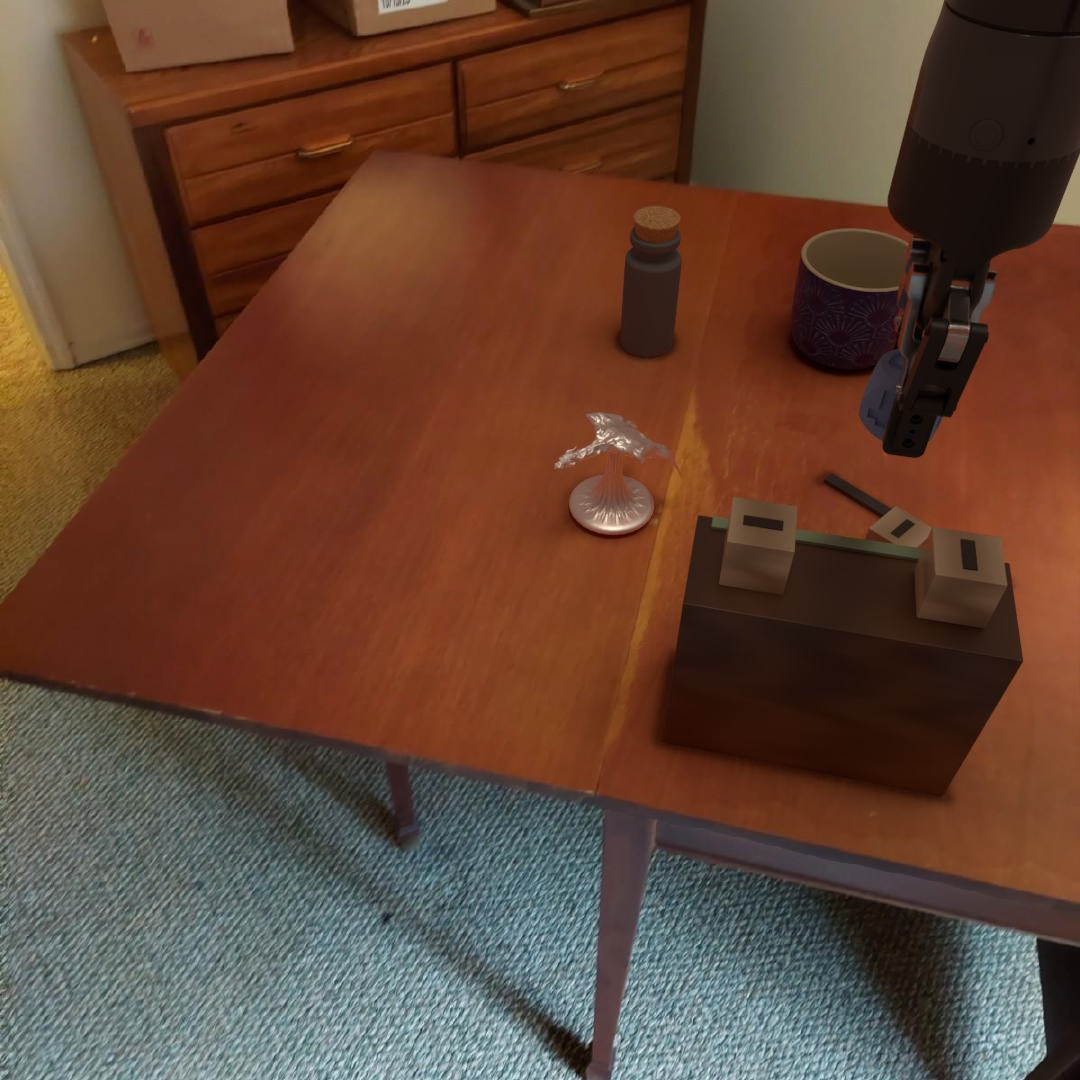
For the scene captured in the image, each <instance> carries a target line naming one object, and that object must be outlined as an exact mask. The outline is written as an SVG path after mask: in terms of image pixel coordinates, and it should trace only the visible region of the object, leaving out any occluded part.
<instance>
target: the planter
mask: <svg viewBox="0 0 1080 1080" xmlns="http://www.w3.org/2000/svg"><path fill="white" fill-rule="evenodd" d="M908 245H909V242H907V241H905V240H904V239H901V237H900V238H899V237H898V236H896V235H895V236H894V235H893V234H890V233H886V232H884V231H883V232H882V231H879V230H873V229H866V228H857V227H856V228H855V227H852V228H850V227H847V228H845V227H844V228H835V229H830V230H826V231H823V232H820V233H818V234H815V235H814V236H811V237H810V238H809V239H808V240H807V241H806V242H805V243H804V244H803V246H802V248H801V251H800V257H799V262H798V267H797V268H798V269H797V274H796V280H795V286H794V292H793V299H792V306H791V316H790V330H791V336H792V340H793V342H794V343H795V346H796V347H797V348H798V350H799V351H800V352H801V353H802V354H803V355H804V356H806V357H807V358H808V359H810V360H811V361H813V362H815V363H817V364H819V365H822V366H825V367H828V368H832V369H837V370H845V371H846V370H847V371H855V370H856V371H857V370H863V369H868V368H871V367H874V366H876V365H877V363H878V361H879V360H880V358H881V357H882V356H883V355H884V354H885V353H887V352H890V351H891V350H892V347H893V343H894V340H895V337H896V333H898V334H900V332H896V331H895V325H894V320H895V316H898V312H899V310H900V308H898V306H897V299H896V297H897V292H898V288H899V284H900V281H901V278H902V276H903V273H904V269H905V259H906V250H907V248H908Z"/></svg>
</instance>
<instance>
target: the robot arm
mask: <svg viewBox="0 0 1080 1080" xmlns="http://www.w3.org/2000/svg"><path fill="white" fill-rule="evenodd" d="M920 65H921V66H920V68H919V72H918V76H917V80H916V83H915V84H916V85H915V88H914V92H913V96H912V100H911V104H910V108H909V112H908V116H907V120H906V123H905V127H904V131H903V135H902V139H901V143H900V147H899V150H898V153H897V158H896V163H895V166H894V169H893V170H894V171H893V174H892V179H891V182H890V186H889V190H888V195H887V202H886V203H887V209H888V212H889V214H890V216H891V217H892V220H893V221H895V222H896V224H897V225H898V226H899V227H900V228H902V229H903V231H906V232H907V233H909V234H910V235H912V237H911V238H910V239H909V242H908V243H909V245H908V248H907V250H906V259H905V269H904V273H903V276H902V278H901V281H900V284H899V288H898V292H897V297H896V299H897V306H898V308H900V310H899V312H898V316H895V320H894V325H895V331H896V332H900V334H898V333H896V337H895V340H894V343H893V347H892V350H895V349H899V351H900V353H901V355H902V356H903V357H904V362H903V366H902V370H901V374H900V378H899V383H898V384H896V387H895V393H896V397H895V401H894V404H893V407H892V410H891V414H890V417H889V420H888V423H887V427H886V430H885V433H884V436H883V441H882V451H883V452H884V453H885V454H887V455H891V456H898V457H905V458H912V459H917V458H920V457H922V456H924V455H925V453H926V449H927V447H928V443H929V442H930V441H929V438H930V436H931V433H932V430H933V427H934V424H935V421H936V418H937V416H942V417H943V418H952V417H953V415H954V412H956V410H957V409H958V403H959V402H960V400H961V397H962V395H963V393H964V391H965V389H966V387H967V384H968V382H969V380H970V377H971V375H972V374H973V371H974V369H975V366H977V365H976V364H977V362H978V361H979V358H980V355H981V354H982V351H983V350H984V347H985V345H986V344H987V342H988V340H989V336H990V332H989V325H988V324H987V323H984V322H983V323H982V322H981V321H982V316H983V312H984V311H985V309H987V308H988V307H989V306H990V305H991V303H992V300H993V297H994V293H995V290H996V285H997V281H998V271H997V270H991V269H990V267H991V263H992V260H993V259H994V258H996V257H998V256H999V255H1002V254H1004V253H1007V252H1009V251H1014V250H1020V249H1024V248H1026V247H1029V246H1031V245H1033V244H1035V243H1036V242H1038V241H1040V240H1041V239H1042V238H1044V237H1045V236H1046V235H1047V233H1049V231H1050V230H1051V228H1052V227H1053V224H1054V221H1055V220H1056V216H1057V214H1058V211H1059V209H1060V206H1061V203H1062V201H1063V199H1064V196H1065V193H1066V191H1067V189H1068V186H1069V183H1070V180H1071V178H1072V175H1073V173H1074V170H1075V168H1076V165H1077V163H1078V160H1079V158H1080V0H943V3H942V5H941V9H940V13H939V15H938V18H937V20H936V23H935V26H934V28H933V31H932V33H931V35H930V38H929V40H928V43H927V46H926V49H925V51H924V55H923V57H922V62H921V64H920ZM892 350H891V351H892ZM928 441H929V442H928Z"/></svg>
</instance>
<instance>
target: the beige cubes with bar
mask: <svg viewBox="0 0 1080 1080" xmlns="http://www.w3.org/2000/svg"><path fill="white" fill-rule="evenodd" d="M823 483H824V484H826V485H827V486H829V487H831V488H832V489H834V490H835V491H837V492H839V493H840V494H842V495H844V496H845V497H847V498H849V499H850V500H852V501H853V502H855V503H857V504H858V505H860V506H861V507H863V508H864V509H866V510H868V511H869V512H871V513H873V514H875V515H876V516H878V517H880V518H879V519H878V520H877V521H875V522H874V523H873V524H872V525H871V526H869V527H868V530H867V532H866V535H865V537H864V539H865V540H871V541H877V542H884V543H890V544H897V545H903V546H910V547H916V548H924V545H925V543H926V541H927V538H928V536H929V533H930V531H931V528H932V527H933V526H930V525H929V524H927V523H925V522H924V521H922V520H920V519H919V518H917V517H915V516H913V515H912V514H910V513H908V512H907V511H905V510H904V509H902V508H900V507H899V506H898V505H895V506H894V507H893V508H891V507H889V506H888V505H886V504H885V503H882V502H881V501H879V500H878V499H876V498H874V497H873V496H871V495H869V494H868V493H866V492H864V491H863V490H861V489H860V488H858V487H856V486H854V485H853V484H851V483H849V482H848V481H846V480H845V479H843V478H842V477H839V476H838V475H836V474H835V473H831V474H829V475H827V476H826V477H825V478H824V479H823Z"/></svg>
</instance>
